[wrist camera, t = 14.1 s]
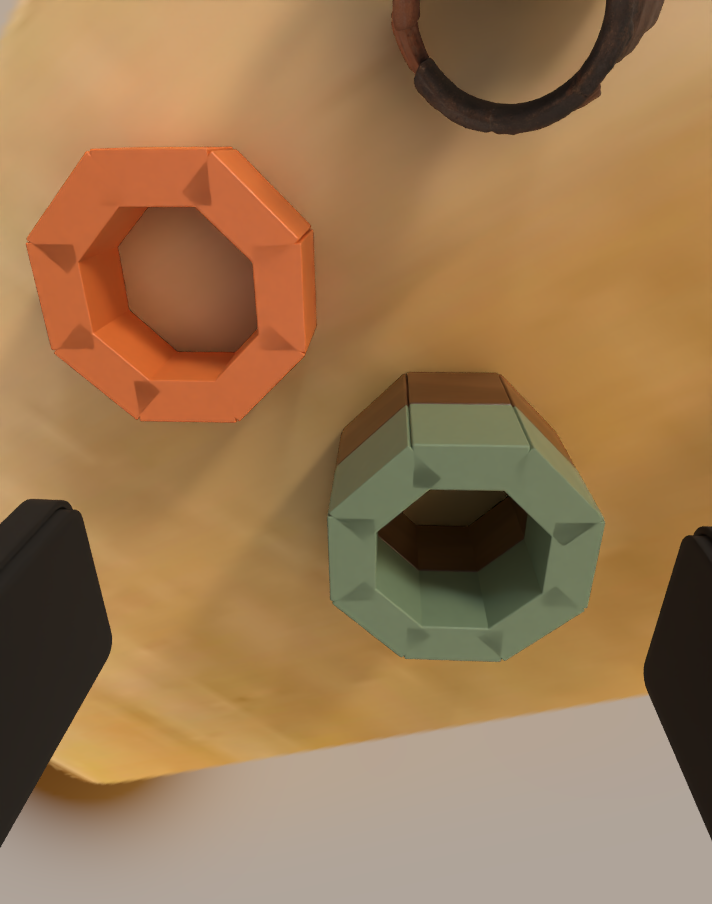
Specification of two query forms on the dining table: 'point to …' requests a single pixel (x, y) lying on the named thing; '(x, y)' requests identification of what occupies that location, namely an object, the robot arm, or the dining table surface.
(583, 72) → the brown knot
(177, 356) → the ring top
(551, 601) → the ring middle
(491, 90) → the dining table surface
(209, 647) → the dining table surface
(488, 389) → the ring bottom
